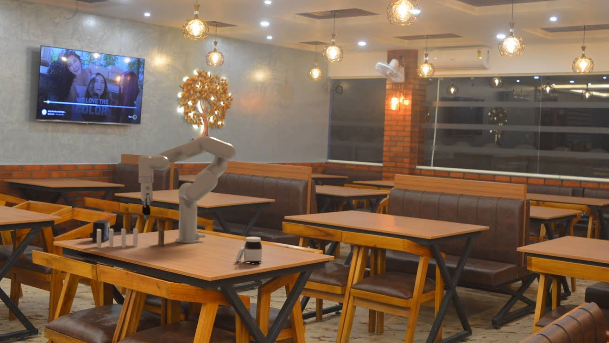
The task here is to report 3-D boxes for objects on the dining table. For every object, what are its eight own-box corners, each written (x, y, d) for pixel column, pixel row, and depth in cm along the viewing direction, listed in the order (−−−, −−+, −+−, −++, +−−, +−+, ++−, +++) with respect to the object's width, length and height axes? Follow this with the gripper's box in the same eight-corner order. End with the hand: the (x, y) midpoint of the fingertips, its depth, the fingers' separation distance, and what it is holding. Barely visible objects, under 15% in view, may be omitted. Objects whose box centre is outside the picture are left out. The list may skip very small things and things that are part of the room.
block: (161, 244, 375) (161, 228, 374) (164, 246, 367) (164, 231, 367) (158, 244, 374) (158, 228, 373) (160, 246, 366) (161, 231, 366)
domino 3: (124, 245, 366) (124, 228, 366) (125, 247, 361) (125, 230, 361) (121, 245, 366) (121, 228, 365) (122, 247, 361) (122, 230, 360)
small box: (104, 242, 374) (104, 222, 373) (91, 242, 374) (92, 222, 373) (110, 239, 384) (110, 220, 384) (98, 239, 384) (98, 219, 384)
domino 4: (136, 245, 368) (136, 228, 368) (137, 247, 364) (137, 229, 363) (133, 245, 368) (133, 228, 367) (134, 247, 363) (134, 229, 363)
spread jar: (263, 264, 327) (263, 239, 327) (238, 265, 324) (239, 239, 323) (257, 259, 339) (258, 235, 338) (233, 260, 336) (234, 235, 335)
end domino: (147, 218, 378) (147, 202, 377) (148, 219, 373) (148, 203, 372) (144, 218, 377) (143, 202, 376) (145, 220, 372) (145, 203, 372)
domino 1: (99, 246, 362) (100, 229, 361) (100, 248, 357) (101, 230, 357) (96, 246, 361) (96, 229, 361) (97, 248, 357) (97, 230, 356)
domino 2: (112, 246, 364) (112, 228, 364) (113, 247, 359) (113, 230, 359) (108, 246, 364) (109, 228, 363) (110, 247, 359) (110, 230, 358)
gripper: (156, 180, 367) (156, 216, 368) (150, 178, 383) (150, 212, 384) (141, 181, 364) (141, 216, 365) (136, 178, 380) (136, 212, 381)
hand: (146, 213), depth 375 cm, fingers closed on end domino, 5 cm apart
